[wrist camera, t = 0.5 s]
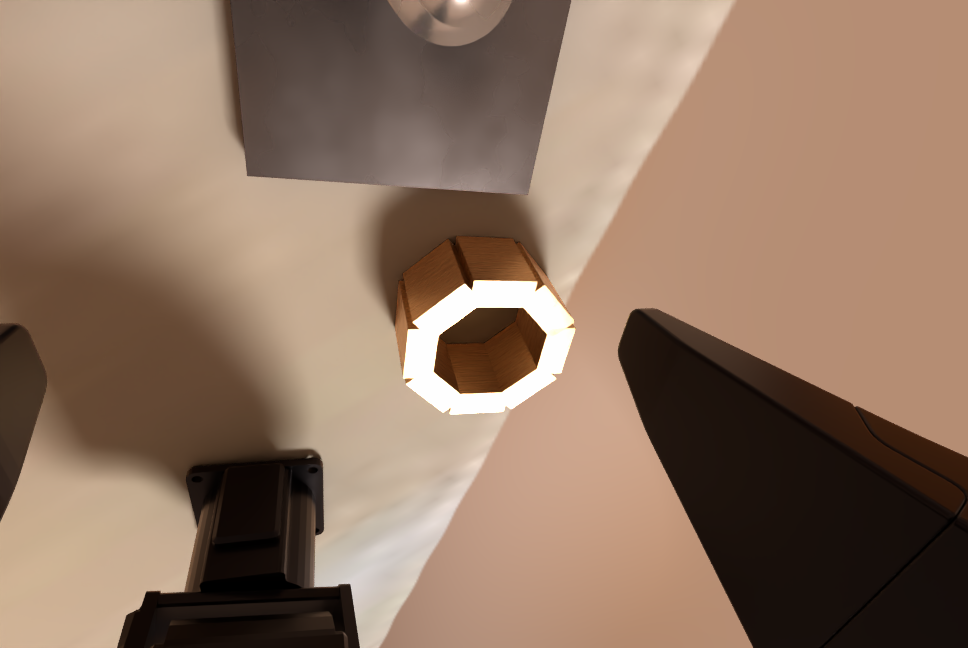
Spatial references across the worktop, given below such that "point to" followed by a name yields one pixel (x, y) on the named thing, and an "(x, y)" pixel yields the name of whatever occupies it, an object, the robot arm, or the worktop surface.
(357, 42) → the shaft stand
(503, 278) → the ring
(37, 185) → the worktop surface
